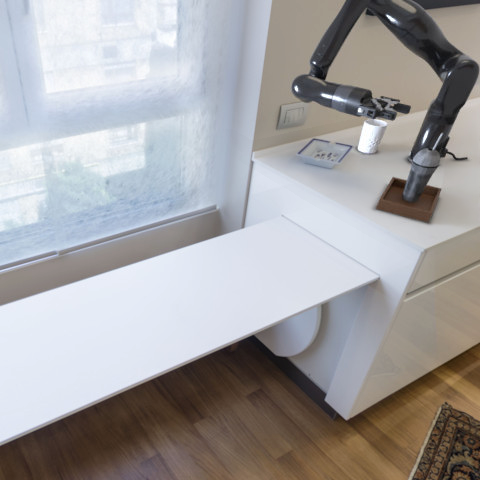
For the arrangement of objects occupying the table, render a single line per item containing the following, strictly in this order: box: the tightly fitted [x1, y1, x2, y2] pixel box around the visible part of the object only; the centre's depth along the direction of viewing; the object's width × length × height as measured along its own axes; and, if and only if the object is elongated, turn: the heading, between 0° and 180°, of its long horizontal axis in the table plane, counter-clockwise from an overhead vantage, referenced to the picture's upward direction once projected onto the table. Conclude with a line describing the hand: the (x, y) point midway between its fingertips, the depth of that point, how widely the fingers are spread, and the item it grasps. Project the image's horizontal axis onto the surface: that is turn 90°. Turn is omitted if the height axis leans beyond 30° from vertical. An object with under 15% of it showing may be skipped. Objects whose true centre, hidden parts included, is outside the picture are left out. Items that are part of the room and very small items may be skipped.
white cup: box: [357, 118, 389, 154], centre depth 162 cm, size 8×8×10 cm
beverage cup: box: [402, 133, 443, 202], centre depth 129 cm, size 7×7×20 cm
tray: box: [375, 176, 442, 224], centre depth 134 cm, size 19×15×3 cm
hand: (402, 113), depth 125 cm, fingers open, 8 cm apart
